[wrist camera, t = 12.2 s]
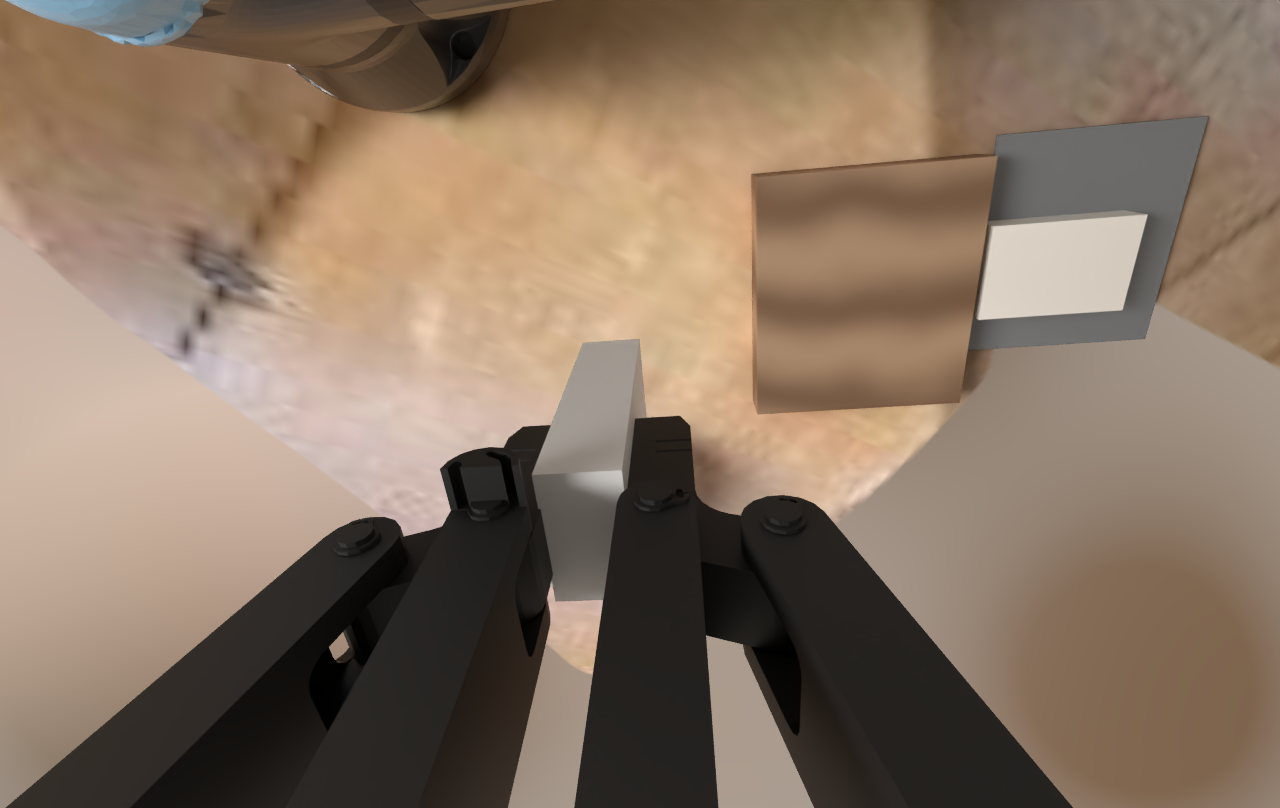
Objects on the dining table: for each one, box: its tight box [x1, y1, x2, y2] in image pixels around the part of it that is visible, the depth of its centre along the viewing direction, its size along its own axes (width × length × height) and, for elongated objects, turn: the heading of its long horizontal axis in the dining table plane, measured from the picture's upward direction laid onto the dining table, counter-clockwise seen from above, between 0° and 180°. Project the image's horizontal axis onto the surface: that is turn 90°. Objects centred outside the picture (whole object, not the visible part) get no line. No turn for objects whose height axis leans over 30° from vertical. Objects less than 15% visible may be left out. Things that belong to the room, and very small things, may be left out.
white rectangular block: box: [973, 210, 1148, 320], centre depth 39 cm, size 6×9×2 cm, turn 95°
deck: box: [752, 154, 998, 414], centre depth 40 cm, size 16×14×2 cm
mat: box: [968, 116, 1208, 350], centre depth 39 cm, size 14×12×1 cm
